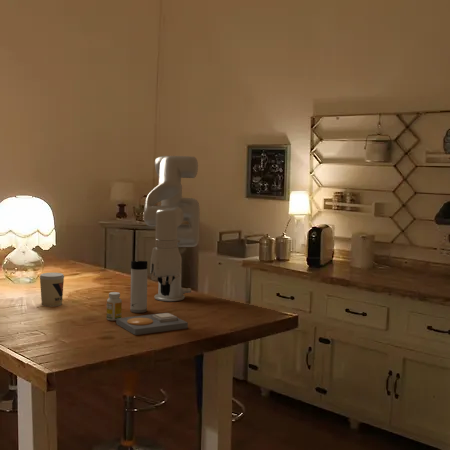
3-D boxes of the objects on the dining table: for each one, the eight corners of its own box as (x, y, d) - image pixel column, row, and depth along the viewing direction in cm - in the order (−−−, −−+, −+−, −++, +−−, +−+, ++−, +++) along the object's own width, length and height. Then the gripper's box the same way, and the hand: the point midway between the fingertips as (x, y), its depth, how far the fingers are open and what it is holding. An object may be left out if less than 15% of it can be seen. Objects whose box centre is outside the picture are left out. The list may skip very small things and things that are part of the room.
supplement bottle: (105, 320, 234) (106, 294, 233) (107, 317, 239) (107, 291, 238) (121, 320, 235) (121, 294, 234) (121, 317, 240) (122, 291, 239)
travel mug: (131, 313, 246) (132, 261, 244) (129, 309, 252) (130, 258, 250) (148, 312, 247) (148, 261, 245) (145, 308, 254) (146, 258, 252)
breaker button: (167, 320, 235) (167, 312, 234) (174, 323, 230) (174, 315, 230) (155, 322, 232) (155, 314, 232) (161, 325, 228) (161, 317, 227)
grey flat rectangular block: (166, 317, 241) (167, 310, 240) (187, 328, 227) (187, 319, 227) (116, 324, 230) (116, 315, 230) (135, 335, 216) (135, 326, 216)
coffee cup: (57, 307, 251) (57, 277, 250) (35, 306, 253) (35, 275, 252) (68, 302, 261) (68, 273, 259) (46, 301, 262) (46, 271, 261)
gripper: (179, 241, 235) (178, 290, 238) (142, 243, 228) (141, 294, 230) (189, 244, 229) (188, 295, 232) (151, 247, 221) (150, 299, 224)
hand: (165, 294), depth 231 cm, fingers closed
